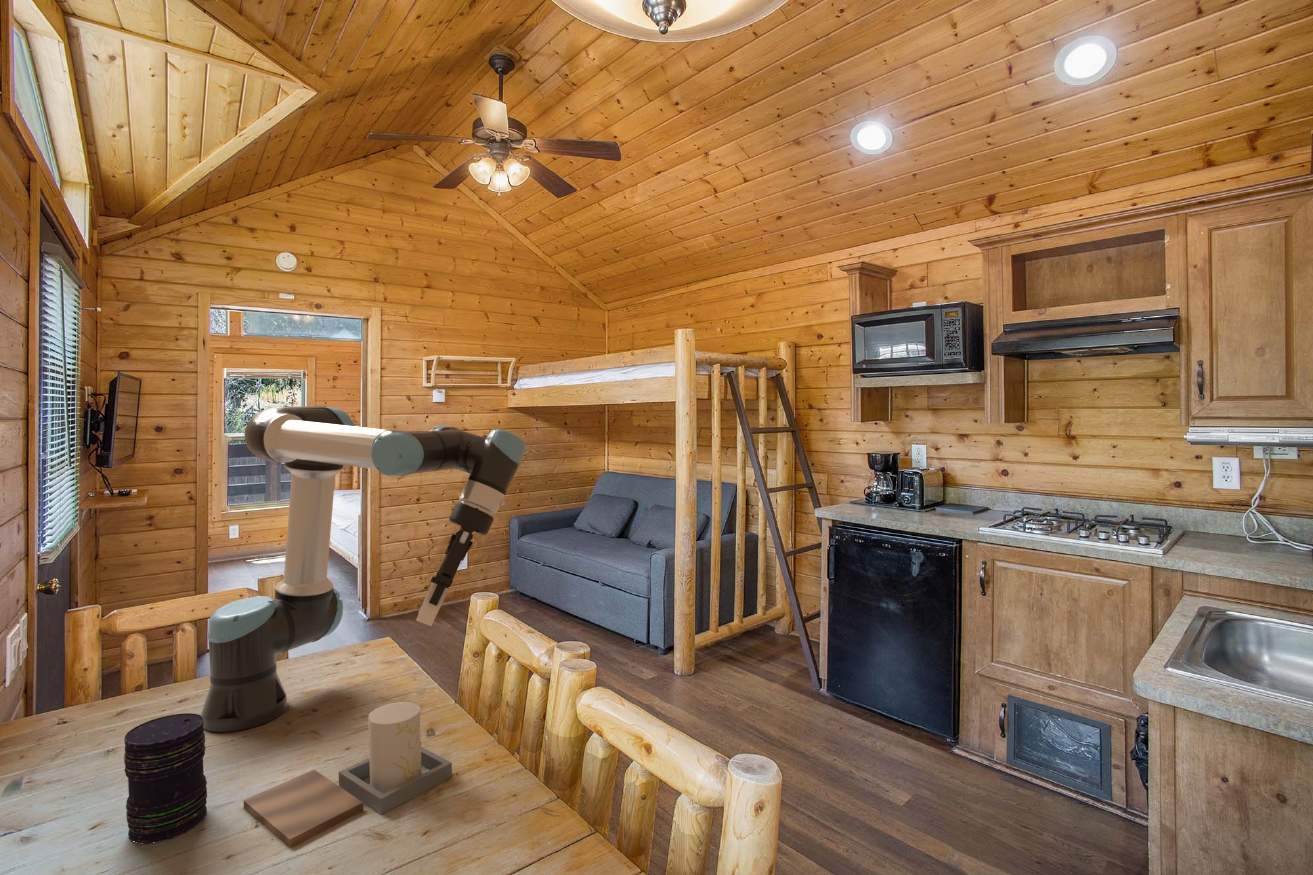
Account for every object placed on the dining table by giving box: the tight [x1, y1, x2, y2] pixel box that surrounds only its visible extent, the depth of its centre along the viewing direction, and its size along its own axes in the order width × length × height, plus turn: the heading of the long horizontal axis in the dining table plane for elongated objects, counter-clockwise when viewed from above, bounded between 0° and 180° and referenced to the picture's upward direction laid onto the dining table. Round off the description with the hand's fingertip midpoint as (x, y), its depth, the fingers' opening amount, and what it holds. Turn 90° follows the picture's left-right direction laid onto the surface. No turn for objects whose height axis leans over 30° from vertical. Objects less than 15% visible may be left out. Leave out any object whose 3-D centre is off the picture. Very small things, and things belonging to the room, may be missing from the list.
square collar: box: [338, 746, 453, 815], centre depth 110 cm, size 13×13×2 cm
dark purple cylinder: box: [123, 712, 208, 844], centre depth 99 cm, size 10×10×15 cm
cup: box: [367, 701, 423, 794], centre depth 110 cm, size 8×8×12 cm
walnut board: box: [243, 769, 364, 848], centre depth 103 cm, size 16×11×1 cm
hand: (424, 619), depth 115 cm, fingers open, 13 cm apart
